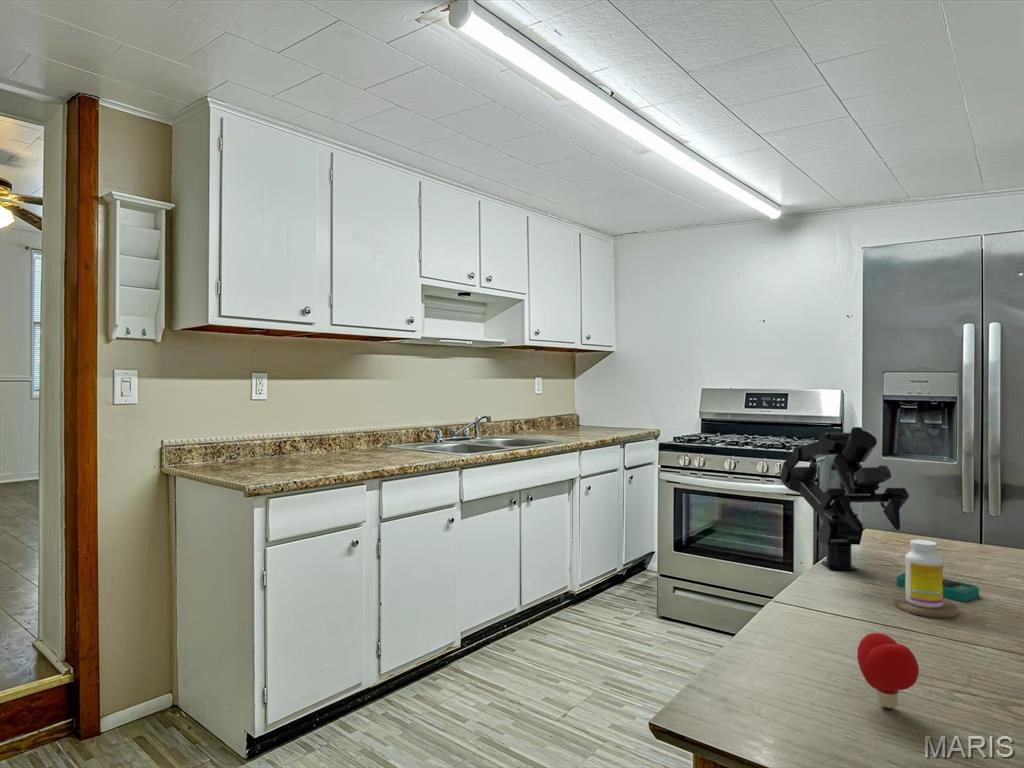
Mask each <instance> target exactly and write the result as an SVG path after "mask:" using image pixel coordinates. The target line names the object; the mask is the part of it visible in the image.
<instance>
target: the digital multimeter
mask: <svg viewBox="0 0 1024 768" xmlns="http://www.w3.org/2000/svg"><path fill="white" fill-rule="evenodd" d="M898 585H900V586H899V587H901V586H905V572H904V573H902V574H900V575H898V576H897V577H896V586H898ZM945 597H947V599H949V598H950V600H953V599H954V601H957V600H958V601H957V602H961V603H965V602H970V601H972V600H974V599H976V598H979V597H980V588H979V586H977V585H973V584H971V583H965V582H960V581H956V580H952V579H951V580H950V579H948V578H947V579H946V578H943V598H945Z"/></svg>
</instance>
